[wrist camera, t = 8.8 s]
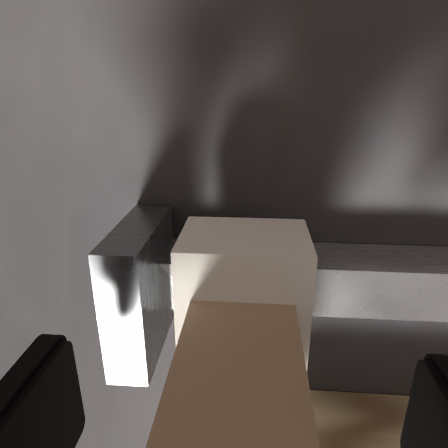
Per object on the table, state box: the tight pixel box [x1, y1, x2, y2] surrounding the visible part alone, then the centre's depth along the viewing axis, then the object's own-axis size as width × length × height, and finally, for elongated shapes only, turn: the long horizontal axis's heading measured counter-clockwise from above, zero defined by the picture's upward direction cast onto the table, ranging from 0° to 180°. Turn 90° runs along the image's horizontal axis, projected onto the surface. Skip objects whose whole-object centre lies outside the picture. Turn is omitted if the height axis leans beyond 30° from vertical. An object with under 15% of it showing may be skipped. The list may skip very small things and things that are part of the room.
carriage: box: [146, 216, 320, 448], centre depth 10 cm, size 4×6×9 cm, turn 0°
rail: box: [88, 205, 448, 387], centre depth 14 cm, size 21×5×5 cm, turn 90°
